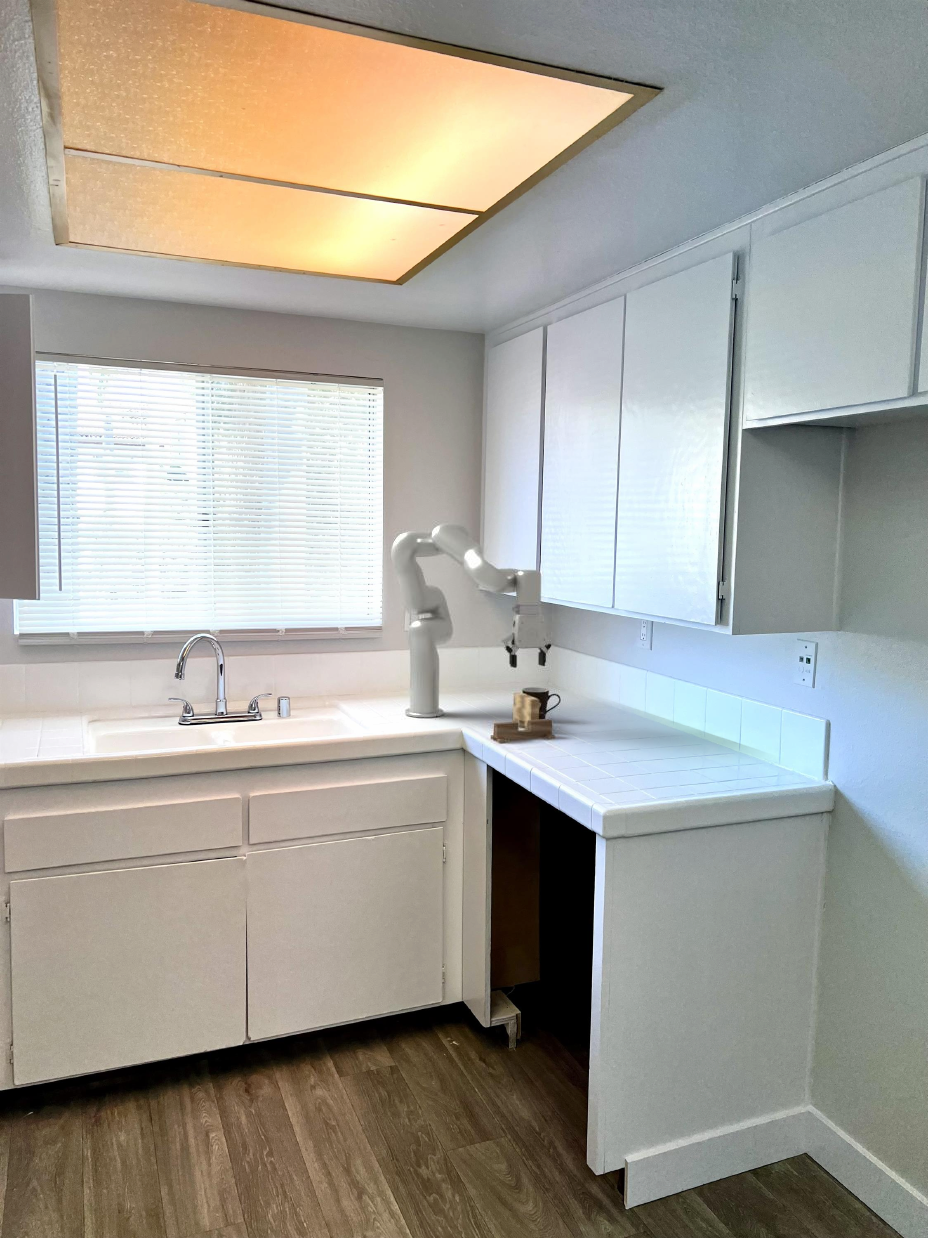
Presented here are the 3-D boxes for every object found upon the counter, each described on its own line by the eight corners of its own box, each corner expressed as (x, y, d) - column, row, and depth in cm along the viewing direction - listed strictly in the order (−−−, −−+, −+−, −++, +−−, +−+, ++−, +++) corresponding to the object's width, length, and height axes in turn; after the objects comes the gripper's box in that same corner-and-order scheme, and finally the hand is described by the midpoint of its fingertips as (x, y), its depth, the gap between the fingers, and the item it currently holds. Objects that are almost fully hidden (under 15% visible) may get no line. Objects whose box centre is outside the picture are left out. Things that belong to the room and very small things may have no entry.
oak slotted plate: (513, 724, 284) (513, 693, 283) (520, 724, 285) (521, 692, 284) (530, 732, 273) (531, 700, 272) (538, 732, 274) (539, 699, 273)
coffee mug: (517, 721, 289) (517, 690, 288) (528, 716, 296) (528, 686, 295) (551, 725, 283) (551, 694, 282) (561, 720, 291) (562, 689, 290)
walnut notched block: (490, 738, 265) (490, 721, 264) (545, 734, 272) (545, 717, 271) (499, 743, 259) (499, 726, 259) (554, 738, 266) (555, 721, 266)
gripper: (508, 612, 269) (507, 669, 270) (559, 610, 275) (558, 666, 277) (497, 610, 276) (496, 666, 277) (547, 608, 282) (546, 663, 284)
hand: (527, 666), depth 277 cm, fingers open, 9 cm apart
